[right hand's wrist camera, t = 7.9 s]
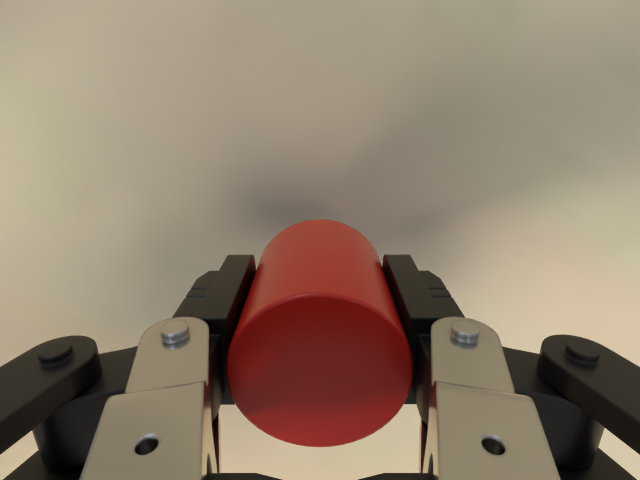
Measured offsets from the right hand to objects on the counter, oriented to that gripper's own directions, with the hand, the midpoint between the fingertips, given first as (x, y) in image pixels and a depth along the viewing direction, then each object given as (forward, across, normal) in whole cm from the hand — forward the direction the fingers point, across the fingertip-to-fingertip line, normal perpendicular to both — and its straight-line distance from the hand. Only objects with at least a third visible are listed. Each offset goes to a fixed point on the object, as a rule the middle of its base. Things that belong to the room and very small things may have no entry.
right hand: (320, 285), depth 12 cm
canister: (+1, 0, 0) cm, 1 cm away
